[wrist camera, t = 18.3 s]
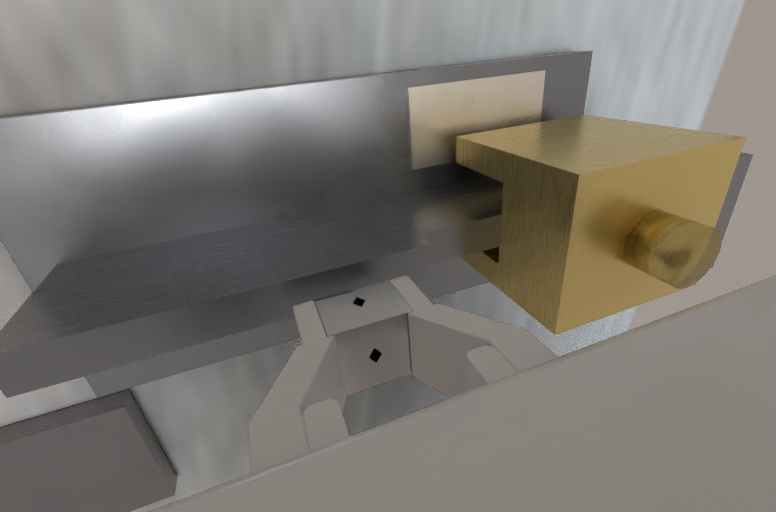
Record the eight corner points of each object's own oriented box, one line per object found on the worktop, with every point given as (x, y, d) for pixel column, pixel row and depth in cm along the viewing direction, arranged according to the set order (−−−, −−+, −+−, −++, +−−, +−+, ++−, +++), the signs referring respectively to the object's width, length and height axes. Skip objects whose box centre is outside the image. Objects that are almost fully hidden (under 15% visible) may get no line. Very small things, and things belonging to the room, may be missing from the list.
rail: (546, 251, 22) (688, 333, 15) (105, 376, 16) (17, 605, 9) (571, 51, 17) (792, 43, 10) (-43, 121, 11) (-449, 207, 4)
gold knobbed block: (567, 224, 18) (740, 305, 12) (456, 254, 17) (591, 364, 11) (583, 114, 16) (807, 146, 10) (456, 136, 14) (629, 190, 8)
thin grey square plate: (177, 475, 19) (174, 494, 18) (7, 537, 17) (-3, 561, 17) (128, 389, 16) (123, 407, 16) (-79, 451, 15) (-98, 475, 14)
